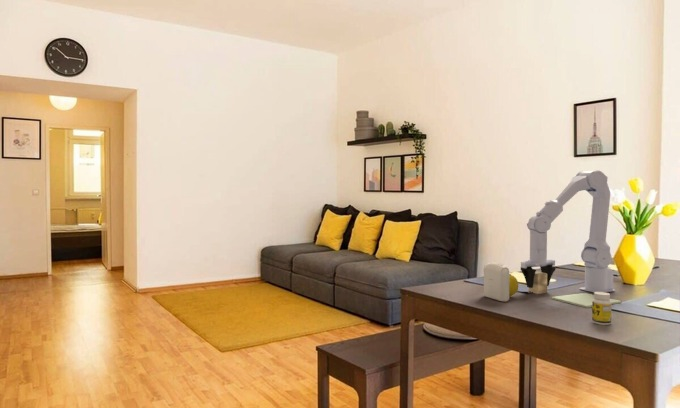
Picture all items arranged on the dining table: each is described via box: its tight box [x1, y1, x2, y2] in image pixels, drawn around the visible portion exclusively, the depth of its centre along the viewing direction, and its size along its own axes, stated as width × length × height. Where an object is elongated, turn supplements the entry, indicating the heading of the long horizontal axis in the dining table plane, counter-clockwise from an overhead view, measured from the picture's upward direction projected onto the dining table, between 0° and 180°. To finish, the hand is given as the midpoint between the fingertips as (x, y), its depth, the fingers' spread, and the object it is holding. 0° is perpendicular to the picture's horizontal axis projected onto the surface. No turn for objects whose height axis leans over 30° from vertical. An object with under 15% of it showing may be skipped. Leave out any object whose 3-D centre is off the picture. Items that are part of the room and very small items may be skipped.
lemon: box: [509, 273, 519, 298], centre depth 172 cm, size 6×6×8 cm
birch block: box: [528, 271, 548, 295], centre depth 180 cm, size 4×4×7 cm
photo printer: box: [483, 261, 510, 302], centre depth 170 cm, size 10×4×12 cm, turn 20°
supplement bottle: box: [591, 292, 612, 326], centre depth 139 cm, size 5×5×8 cm
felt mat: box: [551, 292, 622, 309], centre depth 166 cm, size 16×14×1 cm
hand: (537, 286), depth 180 cm, fingers open, 7 cm apart
